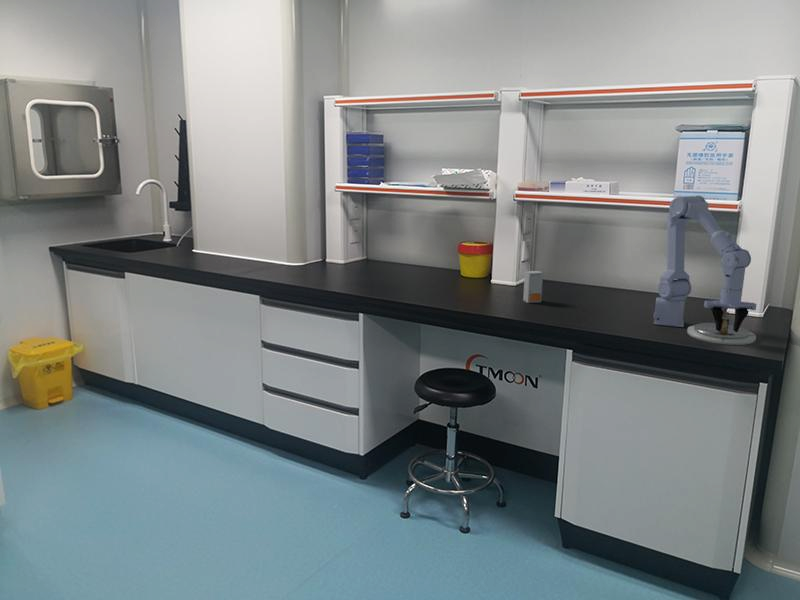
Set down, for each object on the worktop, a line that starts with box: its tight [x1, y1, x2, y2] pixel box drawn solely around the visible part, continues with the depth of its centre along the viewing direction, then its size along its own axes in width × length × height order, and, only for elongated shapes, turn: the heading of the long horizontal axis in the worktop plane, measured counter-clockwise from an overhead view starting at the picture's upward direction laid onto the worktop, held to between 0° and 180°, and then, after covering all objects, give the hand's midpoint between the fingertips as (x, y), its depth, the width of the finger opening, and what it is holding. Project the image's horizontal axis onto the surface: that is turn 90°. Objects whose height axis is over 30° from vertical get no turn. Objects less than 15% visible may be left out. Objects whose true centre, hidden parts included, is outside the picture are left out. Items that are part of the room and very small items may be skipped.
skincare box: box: [522, 270, 544, 304], centre depth 254 cm, size 6×4×12 cm
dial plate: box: [686, 324, 757, 346], centre depth 209 cm, size 20×20×1 cm
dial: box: [694, 317, 749, 339], centre depth 208 cm, size 16×16×6 cm
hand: (726, 330), depth 203 cm, fingers open, 5 cm apart
